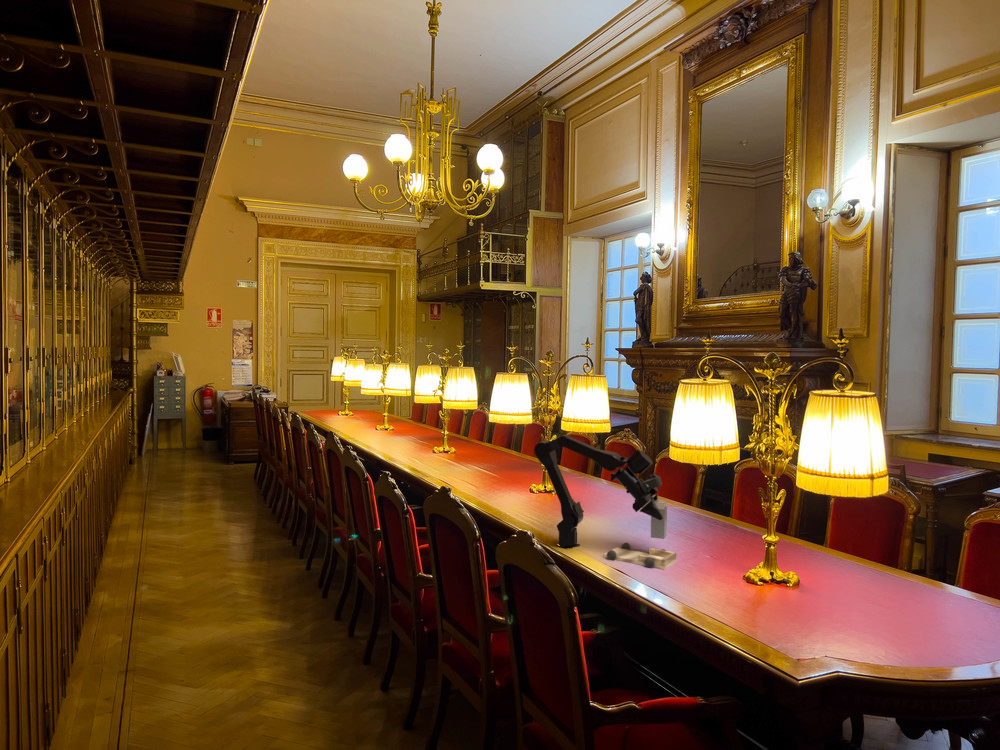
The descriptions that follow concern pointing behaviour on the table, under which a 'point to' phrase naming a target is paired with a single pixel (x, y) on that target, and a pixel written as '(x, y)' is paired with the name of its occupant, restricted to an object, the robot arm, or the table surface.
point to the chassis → (642, 556)
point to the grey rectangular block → (659, 525)
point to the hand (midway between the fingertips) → (663, 517)
